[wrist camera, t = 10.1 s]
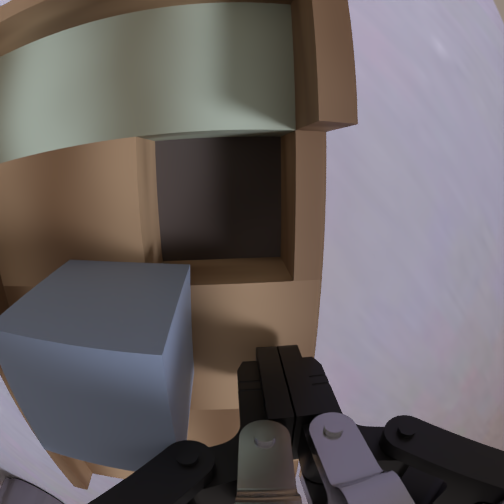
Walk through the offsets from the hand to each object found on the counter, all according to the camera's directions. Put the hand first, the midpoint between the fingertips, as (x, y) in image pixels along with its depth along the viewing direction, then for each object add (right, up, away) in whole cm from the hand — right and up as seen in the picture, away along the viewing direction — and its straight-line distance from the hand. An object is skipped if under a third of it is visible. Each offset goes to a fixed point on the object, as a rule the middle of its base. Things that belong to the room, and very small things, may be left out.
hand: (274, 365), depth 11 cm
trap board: (-6, +2, +3) cm, 7 cm away
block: (-5, +2, 0) cm, 6 cm away
